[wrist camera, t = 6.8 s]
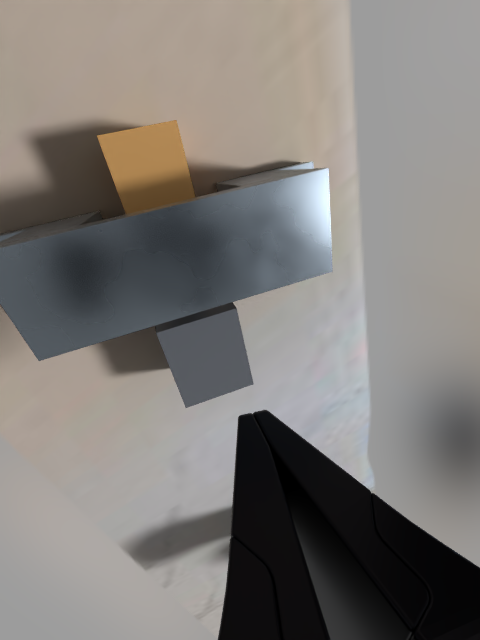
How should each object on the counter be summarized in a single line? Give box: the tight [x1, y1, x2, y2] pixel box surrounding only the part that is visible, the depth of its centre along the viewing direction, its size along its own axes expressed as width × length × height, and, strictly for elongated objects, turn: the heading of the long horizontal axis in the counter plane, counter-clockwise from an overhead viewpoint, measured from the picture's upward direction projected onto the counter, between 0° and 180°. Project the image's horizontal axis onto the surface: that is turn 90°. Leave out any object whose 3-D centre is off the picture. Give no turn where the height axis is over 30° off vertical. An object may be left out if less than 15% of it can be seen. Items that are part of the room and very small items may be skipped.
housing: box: [0, 162, 332, 361], centre depth 13 cm, size 4×16×6 cm, turn 101°
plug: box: [97, 120, 253, 408], centre depth 15 cm, size 13×4×4 cm, turn 11°
